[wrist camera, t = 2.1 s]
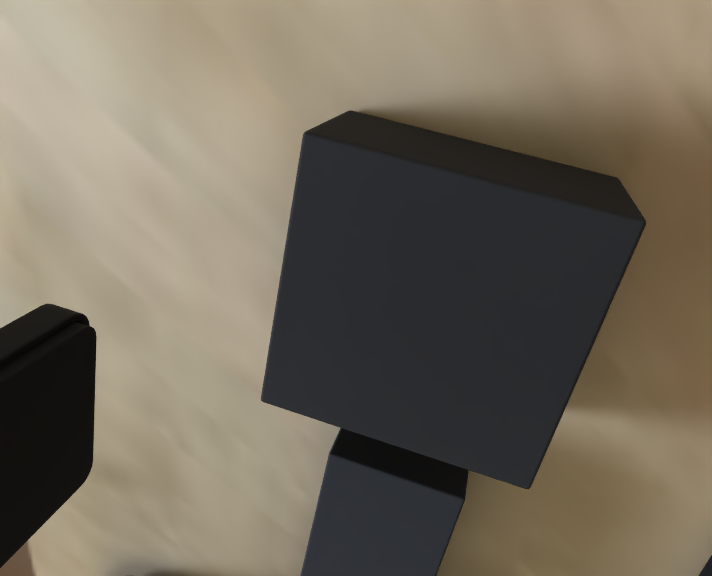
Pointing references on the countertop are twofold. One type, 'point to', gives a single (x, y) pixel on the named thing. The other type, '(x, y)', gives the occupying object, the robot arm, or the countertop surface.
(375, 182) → the black pad
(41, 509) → the robot arm
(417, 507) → the notched tile
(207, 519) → the countertop surface
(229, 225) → the countertop surface
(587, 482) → the countertop surface
